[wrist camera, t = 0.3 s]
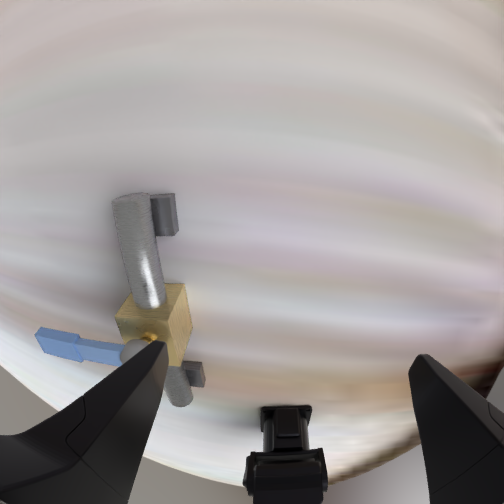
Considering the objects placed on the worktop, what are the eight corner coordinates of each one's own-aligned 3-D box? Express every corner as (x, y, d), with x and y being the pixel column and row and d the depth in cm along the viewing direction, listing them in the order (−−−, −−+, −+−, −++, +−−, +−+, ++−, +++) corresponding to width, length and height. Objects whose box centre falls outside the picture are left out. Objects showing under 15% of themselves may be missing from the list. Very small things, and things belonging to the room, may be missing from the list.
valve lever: (155, 340, 19) (150, 352, 18) (164, 368, 20) (161, 379, 19) (39, 323, 19) (32, 331, 18) (51, 347, 21) (45, 355, 20)
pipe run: (206, 382, 30) (197, 425, 24) (165, 378, 30) (152, 419, 24) (173, 187, 21) (141, 211, 15) (117, 192, 21) (75, 216, 15)
